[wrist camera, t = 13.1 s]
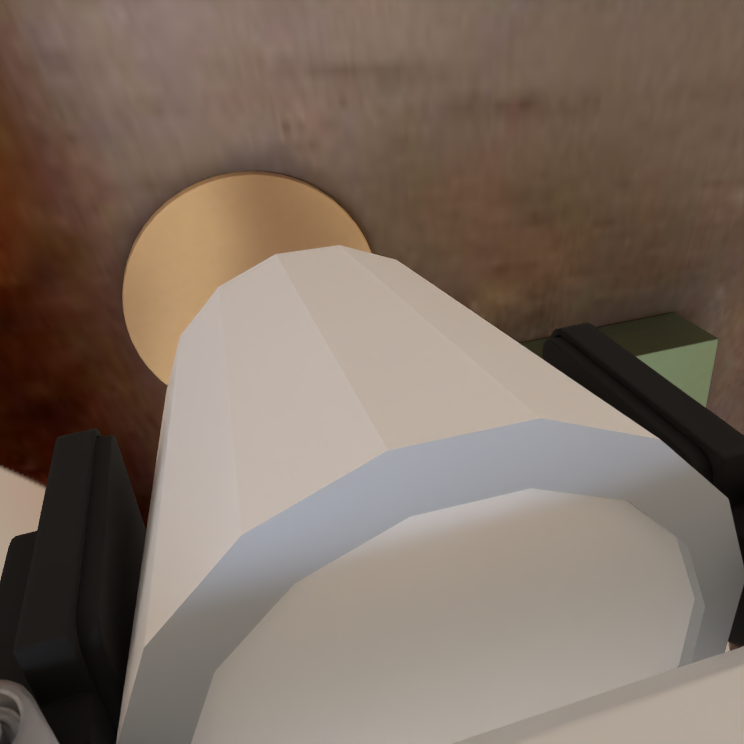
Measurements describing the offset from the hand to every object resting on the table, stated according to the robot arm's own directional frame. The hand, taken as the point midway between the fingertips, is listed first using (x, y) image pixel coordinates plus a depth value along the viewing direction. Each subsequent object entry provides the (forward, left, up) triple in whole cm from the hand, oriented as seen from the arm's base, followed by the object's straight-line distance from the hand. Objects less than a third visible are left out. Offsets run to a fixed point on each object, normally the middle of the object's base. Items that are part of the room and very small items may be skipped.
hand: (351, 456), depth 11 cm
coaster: (0, -4, -17) cm, 18 cm away
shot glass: (0, 0, -2) cm, 2 cm away
